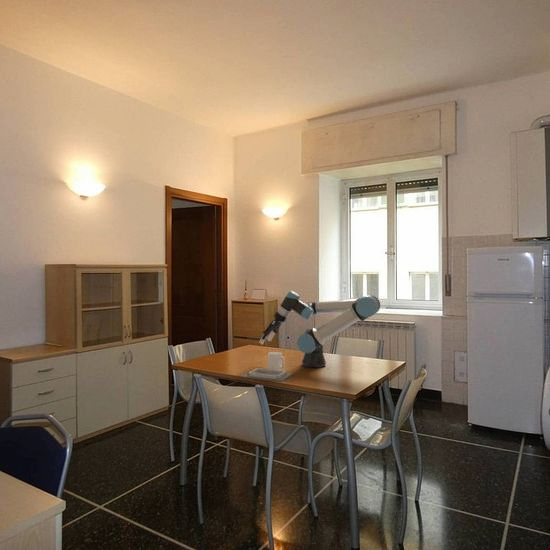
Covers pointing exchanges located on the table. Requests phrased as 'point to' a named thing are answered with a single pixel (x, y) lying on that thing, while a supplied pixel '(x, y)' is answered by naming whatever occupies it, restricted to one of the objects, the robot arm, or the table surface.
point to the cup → (275, 361)
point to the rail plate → (267, 375)
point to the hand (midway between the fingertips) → (264, 341)
